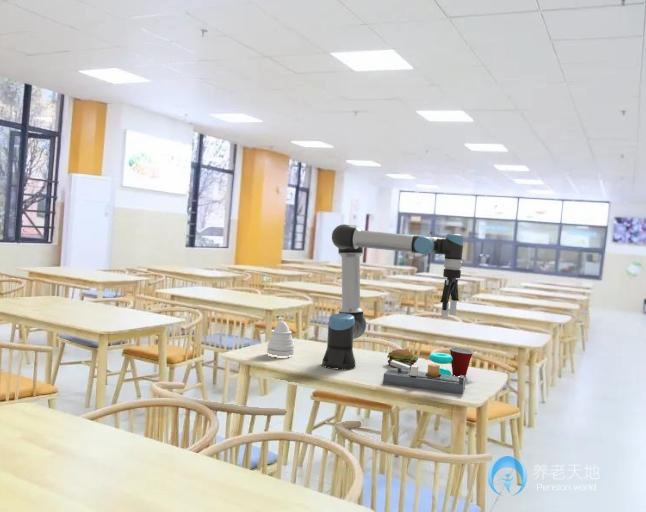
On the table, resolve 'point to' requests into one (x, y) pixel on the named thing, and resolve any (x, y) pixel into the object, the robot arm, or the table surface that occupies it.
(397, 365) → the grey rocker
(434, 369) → the orange button
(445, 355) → the donuts
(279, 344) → the honey pot
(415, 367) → the slider knob
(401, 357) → the food
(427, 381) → the console panel
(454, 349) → the plastic cup
